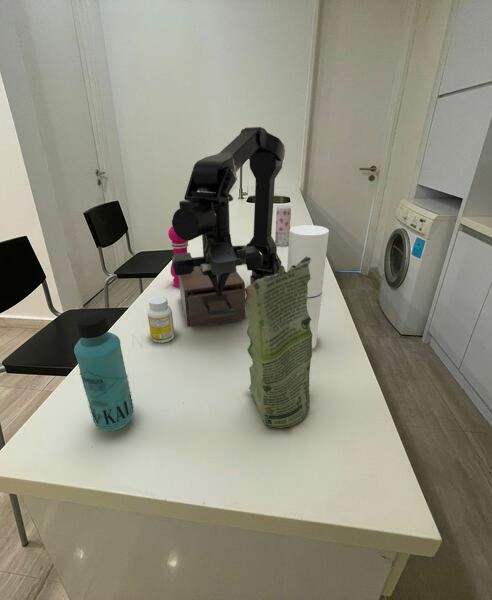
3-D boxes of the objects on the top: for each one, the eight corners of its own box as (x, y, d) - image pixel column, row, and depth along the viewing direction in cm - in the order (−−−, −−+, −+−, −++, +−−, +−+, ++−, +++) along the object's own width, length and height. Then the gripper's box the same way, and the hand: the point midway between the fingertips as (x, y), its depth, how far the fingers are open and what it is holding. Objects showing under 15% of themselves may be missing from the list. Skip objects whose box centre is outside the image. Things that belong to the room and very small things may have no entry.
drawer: (250, 328, 77) (250, 298, 73) (193, 337, 74) (190, 306, 71) (231, 295, 92) (231, 269, 89) (184, 302, 90) (181, 275, 86)
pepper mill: (191, 289, 99) (185, 222, 90) (168, 287, 101) (160, 222, 92) (197, 279, 106) (193, 216, 96) (176, 278, 107) (169, 216, 98)
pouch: (244, 430, 52) (244, 285, 40) (244, 379, 62) (243, 253, 51) (316, 431, 51) (336, 284, 40) (303, 379, 62) (316, 251, 50)
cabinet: (245, 317, 83) (245, 282, 79) (187, 326, 80) (183, 290, 76) (231, 293, 96) (230, 262, 91) (181, 300, 93) (177, 268, 89)
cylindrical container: (296, 355, 69) (306, 237, 57) (276, 338, 74) (281, 228, 63) (323, 345, 71) (337, 231, 60) (301, 329, 77) (311, 223, 66)
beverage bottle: (100, 410, 57) (72, 307, 48) (139, 406, 57) (119, 304, 48) (90, 441, 51) (56, 331, 42) (133, 437, 51) (109, 327, 42)
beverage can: (291, 243, 136) (293, 206, 129) (285, 246, 132) (287, 208, 125) (278, 241, 139) (280, 204, 132) (272, 244, 135) (274, 207, 128)
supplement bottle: (167, 345, 73) (162, 307, 69) (146, 340, 75) (140, 303, 71) (178, 332, 78) (174, 296, 73) (159, 329, 80) (154, 293, 75)
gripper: (173, 243, 58) (181, 319, 65) (273, 233, 62) (270, 306, 69) (168, 227, 68) (175, 295, 75) (254, 219, 71) (254, 285, 79)
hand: (218, 295), depth 74 cm, fingers closed
